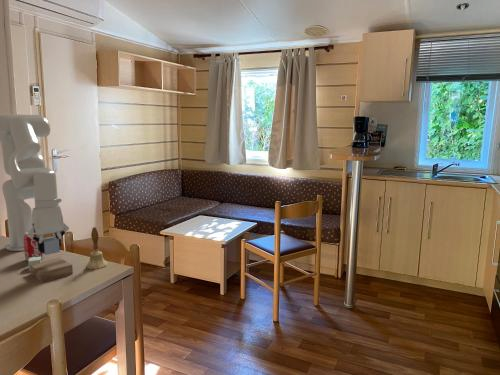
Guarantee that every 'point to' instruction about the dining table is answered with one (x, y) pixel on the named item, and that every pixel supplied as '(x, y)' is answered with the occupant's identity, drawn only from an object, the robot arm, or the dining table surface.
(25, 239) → the soda can
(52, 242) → the slate cube
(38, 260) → the white cube
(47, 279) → the walnut block
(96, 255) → the hand bell
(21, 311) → the dining table surface
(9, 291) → the dining table surface
